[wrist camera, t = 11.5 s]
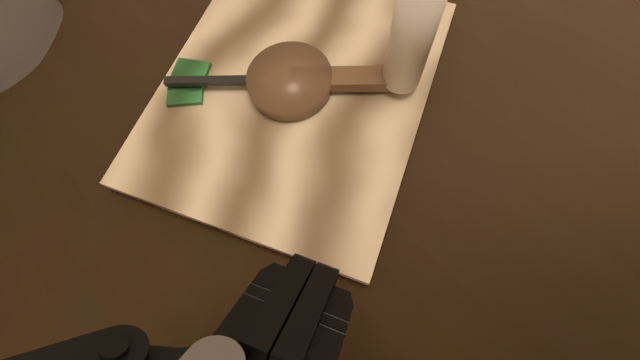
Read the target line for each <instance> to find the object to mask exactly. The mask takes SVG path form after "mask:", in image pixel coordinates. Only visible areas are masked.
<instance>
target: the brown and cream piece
mask: <svg viewBox="0 0 640 360" xmlns="http://www.w3.org/2000/svg"><path fill="white" fill-rule="evenodd" d="M446 3H447V0H395V5H394V11H393V16H392V22H391V28H390V34H389V39H388V45H387V51H386V56H385V62H384V65H374V66H331V65H330V63H329V61H328V59H327V57H326V56H325V55H324V54H323V53H322V52H321V51H320V50H319V49H317V48H316V47H314V46H312V45H309V44H307V43H303V42H297V41H288V42H281V43H277V44H274V45H272V46H269V47H267V48H266V49H264V50H263V51H261V52H260V53H259V54H258V55H257V56H256V57H255V58H254V59H253V60H252V62H251V63H250V65H249V67H248V70H247V73H246V75H218V76H165V77H164V81H163V84H164V85H165V86H166V87H197V86H246V87H247V91H248V93H249V95H250V98H251V100H252V102H253V104H254V105H255V107H256V108H257V109H258V110H259V111H260V112H261V113H262V114H264V115H265V116H267V117H269V118H271V119H274V120H278V121H287V122H289V121H298V120H302V119H305V118H307V117H310V116H312V115H313V114H315V113H316V112H318V111H319V110H320V109H321V108H322V107H323V106H324V105H325V104H326V102H327V101H328V99H329V97H330V94H331V92H393V93H396V94H407V93H410V92H412V91H414V90H415V89H416V88H417V87H418V85H419V82H420V79H421V76H422V73H423V71H424V68H425V65H426V62H427V59H428V56H429V53H430V50H431V47H432V44H433V41H434V38H435V35H436V33H437V30H438V27H439V24H440V21H441V18H442V15H443V12H444V9H445V6H446Z"/></svg>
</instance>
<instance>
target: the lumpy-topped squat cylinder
mask: <svg viewBox="0 0 640 360" xmlns="http://www.w3.org/2000/svg"><path fill="white" fill-rule="evenodd" d="M62 19H63V8H62V5H61V4H60V3H59V1H58V0H0V93H1V92H3V91H5V90H7V89H8V88H10V87H12V86H13V85H15V84H16V83H17V82H19V81H20V80H21V79H23V78H24V77H25V76H26V75H28V74H29V73H30V72H31V71H32V70H34V69H35V68H36V67H37V66H38V65H39V64H40V62H41V61H42V59H43V58H44V56H45V55H46V53H47V51H48V50H49V48H50V46H51V44H52V42H53V41H54V39H55V36H56V34H57V32H58V29H59V27H60V24H61V22H62Z"/></svg>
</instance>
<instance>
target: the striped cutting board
mask: <svg viewBox="0 0 640 360" xmlns="http://www.w3.org/2000/svg"><path fill="white" fill-rule="evenodd" d="M394 5H395V0H212V1H211V3H210V5H209V6H208V8H207V10H206V11H205V13H204V14H203V16H202V18H201V19H200V21H199V23H198V24H197V26H196V27H195V29H194V31H193V32H192V34H191V36H190V37H189V39H188V40H187V42H186V44H185V45H184V47H183V49H182V50H181V52H180V53H179V55H178V57H177V58H176V60H175V62H174V63H173V65H172V66H171V68H170V70H169V71H168V73H167V75H166V76H218V75H246V73H247V70H248V67H249V65H250V63H251V62H252V60H253V59H254V58H255V57H256V56H257V55H258V54H259V53H260V52H261V51H263V50H264V49H266V48H267V47H269V46H272V45H274V44H277V43H281V42H288V41H297V42H303V43H307V44H309V45H312V46H314V47H316V48H317V49H319V50H320V51H321V52H322V53H323V54H324V55H325V56H326V57H327V59H328V61H329V63H330V65H331V66H374V65H384V62H385V56H386V51H387V45H388V39H389V34H390V28H391V22H392V16H393V11H394ZM455 7H456V4H453V3H449V2H447V3H446V6H445V9H444V12H443V15H442V18H441V21H440V24H439V27H438V30H437V33H436V35H435V38H434V41H433V44H432V47H431V50H430V53H429V56H428V59H427V62H426V65H425V68H424V71H423V73H422V76H421V79H420V82H419V85H418V87H417V88H416V89H415V90H414V91H412V92H410V93H407V94H396V93H393V92H331V94H330V97H329V99H328V101H327V102H326V104H325V105H324V106H323V107H322V108H321V109H320V110H319V111H318V112H316V113H315V114H313V115H312V116H310V117H307V118H305V119H302V120H298V121H289V122H287V121H278V120H274V119H271V118H269V117H267V116H265V115H264V114H262V113H261V112H260V111H259V110H258V109H257V108H256V107H255V105H254V104H253V102H252V100H251V98H250V95H249V93H248V91H247V87H246V86H197V87H166V86H165V85H164V84H163V81H164V79H163V81H162V83H161V84H160V86H159V87H158V89H157V91H156V92H155V94H154V96H153V97H152V99H151V100H150V102H149V104H148V105H147V107H146V109H145V110H144V112H143V113H142V115H141V117H140V118H139V120H138V122H137V123H136V125H135V126H134V128H133V130H132V131H131V133H130V135H129V136H128V138H127V139H126V141H125V143H124V144H123V146H122V148H121V149H120V151H119V152H118V154H117V156H116V157H115V159H114V161H113V162H112V164H111V165H110V167H109V169H108V170H107V172H106V174H105V175H104V177H103V178H102V180H101V182H100V184H102V185H104V186H106V187H108V188H110V189H111V190H114V191H117V192H119V193H122V194H125V195H127V196H130V197H133V198H135V199H138V200H141V201H143V202H146V203H149V204H151V205H154V206H157V207H159V208H162V209H165V210H167V211H170V212H173V213H176V214H178V215H181V216H184V217H186V218H189V219H192V220H194V221H197V222H200V223H202V224H205V225H208V226H210V227H213V228H216V229H218V230H221V231H224V232H226V233H229V234H232V235H234V236H237V237H240V238H242V239H245V240H248V241H250V242H253V243H256V244H258V245H261V246H264V247H266V248H269V249H272V250H274V251H277V252H280V253H282V254H285V255H288V256H290V257H292V256H293V255H294V254H295V253H297V254H299V255H302V256H304V257H307V258H310V259H312V260H315V261H317V263H318V262H321V263H323V264H326V265H329V266H331V267H334V268H336V269H339V270H340V271H339V275H341V276H344V277H346V278H349V279H352V280H354V281H357V282H360V283H362V284H365V285H369V283H370V280H371V277H372V274H373V271H374V267H375V264H376V261H377V258H378V255H379V251H380V248H381V245H382V242H383V238H384V235H385V232H386V229H387V226H388V222H389V219H390V216H391V213H392V209H393V206H394V203H395V200H396V197H397V193H398V190H399V187H400V184H401V180H402V177H403V174H404V171H405V168H406V164H407V161H408V158H409V155H410V152H411V148H412V145H413V142H414V139H415V135H416V132H417V129H418V126H419V123H420V119H421V116H422V113H423V110H424V106H425V103H426V100H427V97H428V94H429V90H430V87H431V84H432V81H433V77H434V74H435V71H436V68H437V65H438V61H439V58H440V55H441V52H442V48H443V45H444V42H445V39H446V36H447V32H448V29H449V26H450V23H451V20H452V16H453V13H454V10H455Z"/></svg>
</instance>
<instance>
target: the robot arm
mask: <svg viewBox="0 0 640 360" xmlns="http://www.w3.org/2000/svg"><path fill="white" fill-rule="evenodd" d="M339 271H340V270H339V269H336V268H334V267H331V266H329V265H326V264H323V263H321V262H318V263H317V261H315V260H312V259H310V258H307V257H304V256H302V255H299V254H297V253H295V254H294V255H293V256H292V258H291V259H290V261H289V263H288V264H287V266H286V267H284V266H281V265H279V264H276V263H272V264H270V265H269V266H267V267H265V268H263V269H262V270H260V271H259V273H258V274H257V276H256V277H255V278H254V280H253V281H252V283H251V284H250V285H249V286H248V288H247V289H246V291H245V293H244V294H243V295H242V296H241V297H240V299H239V300H238V301H237V303H236V304H235V306H234V307H233V308H232V310H231V311H230V312H229V314H228V315H227V316H226V318H225V319H224V320H223V322H222V323H221V325H220V326H219V327H218V329H217V330H216V331H215V332H214V334H213V335H212V336H208V337H205V338H202V339H200V340H198V341H197V342H195V343H194V344H193V345H192V346H190V347H185V348H173V347H162V346H152V345H149V339H148V337H147V335H146V333H145V332H144V331H142V330H141V329H139V328H138V327H135V326H130V325H117V326H112V327H109V328H105V329H102V330H99V331H95V332H92V333H89V334H85V335H82V336H79V337H75V338H72V339H69V340H65V341H62V342H59V343H55V344H52V345H49V346H46V347H42V348H39V349H36V350H32V351H29V352H26V353H22V354H19V355H16V356H12V357H9V358H6V359H2V360H338V356H339V353H340V350H341V346H342V343H343V340H344V336H345V333H346V329H347V326H348V323H349V319H350V316H351V313H352V309H353V303H352V298H351V293H350V292H349V291H346V290H343V289H341V288H338V287H336V286H335V285H336V281H337V278H338V275H339Z"/></svg>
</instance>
